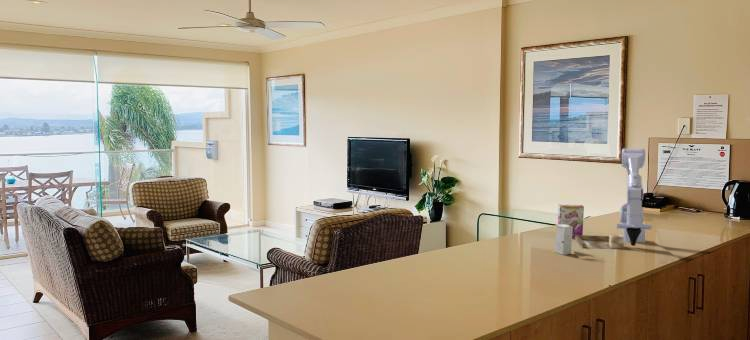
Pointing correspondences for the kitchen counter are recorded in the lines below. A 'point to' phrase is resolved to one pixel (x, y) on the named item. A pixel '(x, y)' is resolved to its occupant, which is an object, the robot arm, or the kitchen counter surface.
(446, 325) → the kitchen counter surface
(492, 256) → the kitchen counter surface
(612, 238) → the block
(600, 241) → the board
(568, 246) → the skincare box
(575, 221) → the candy bar box
